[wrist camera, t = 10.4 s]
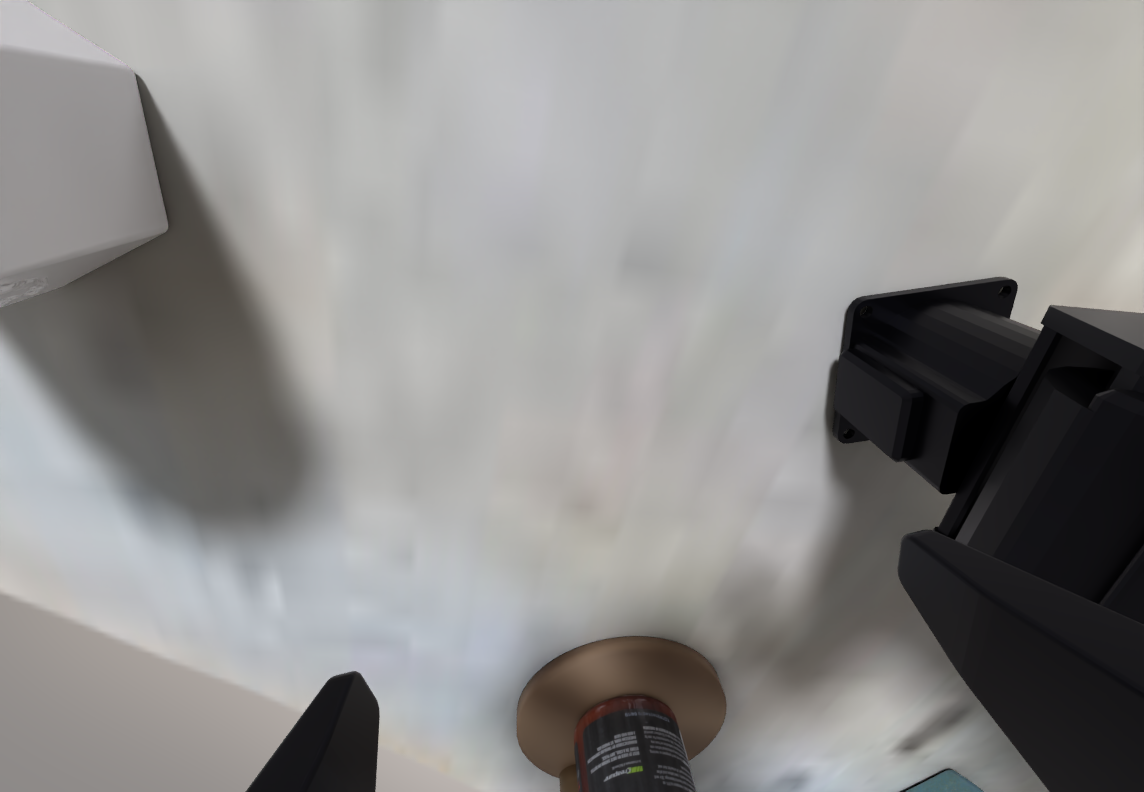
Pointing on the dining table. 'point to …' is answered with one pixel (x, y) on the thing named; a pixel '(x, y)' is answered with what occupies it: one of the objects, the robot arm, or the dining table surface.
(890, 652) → the dining table surface
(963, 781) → the flower pot
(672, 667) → the flange plate
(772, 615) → the dining table surface
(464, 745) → the dining table surface
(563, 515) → the dining table surface
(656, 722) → the supplement bottle
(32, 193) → the jar
